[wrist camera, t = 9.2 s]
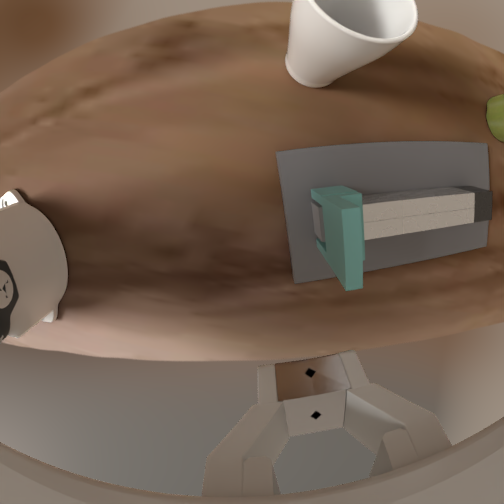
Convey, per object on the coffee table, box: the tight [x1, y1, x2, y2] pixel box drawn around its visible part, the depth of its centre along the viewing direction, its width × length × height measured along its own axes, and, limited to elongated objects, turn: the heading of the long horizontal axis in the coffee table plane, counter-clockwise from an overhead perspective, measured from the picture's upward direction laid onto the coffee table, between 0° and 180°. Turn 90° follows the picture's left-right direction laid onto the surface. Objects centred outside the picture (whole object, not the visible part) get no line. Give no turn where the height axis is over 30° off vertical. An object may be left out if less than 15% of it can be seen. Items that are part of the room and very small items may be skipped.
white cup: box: [285, 0, 418, 88], centre depth 16 cm, size 7×7×15 cm
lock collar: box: [311, 185, 365, 291], centre depth 22 cm, size 3×6×10 cm, turn 9°
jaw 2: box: [364, 206, 492, 240], centre depth 24 cm, size 16×2×4 cm, turn 99°
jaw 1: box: [362, 185, 492, 223], centre depth 24 cm, size 16×2×4 cm, turn 99°
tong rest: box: [275, 141, 489, 284], centre depth 25 cm, size 26×13×4 cm, turn 99°
